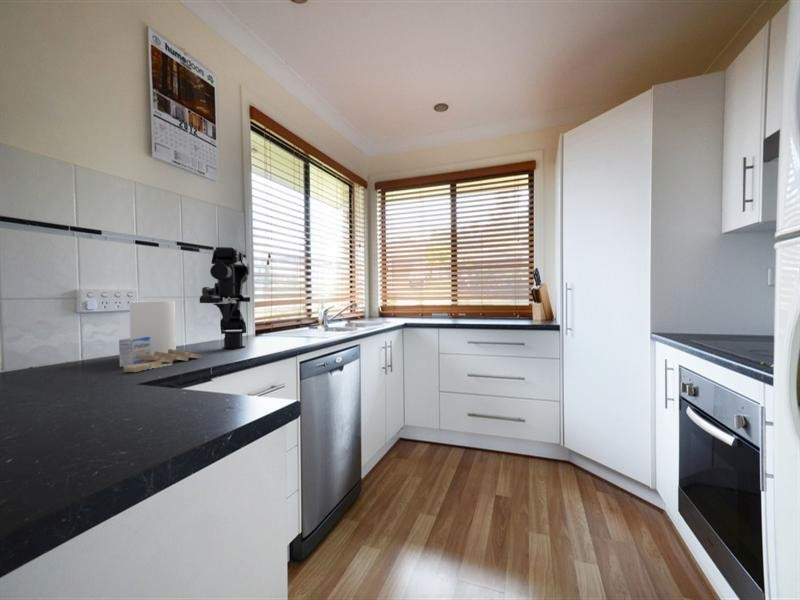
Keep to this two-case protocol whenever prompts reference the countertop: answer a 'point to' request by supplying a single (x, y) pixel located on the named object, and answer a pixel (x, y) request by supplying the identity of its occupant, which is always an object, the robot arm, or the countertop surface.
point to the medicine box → (133, 350)
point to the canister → (154, 323)
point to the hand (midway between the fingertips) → (226, 321)
